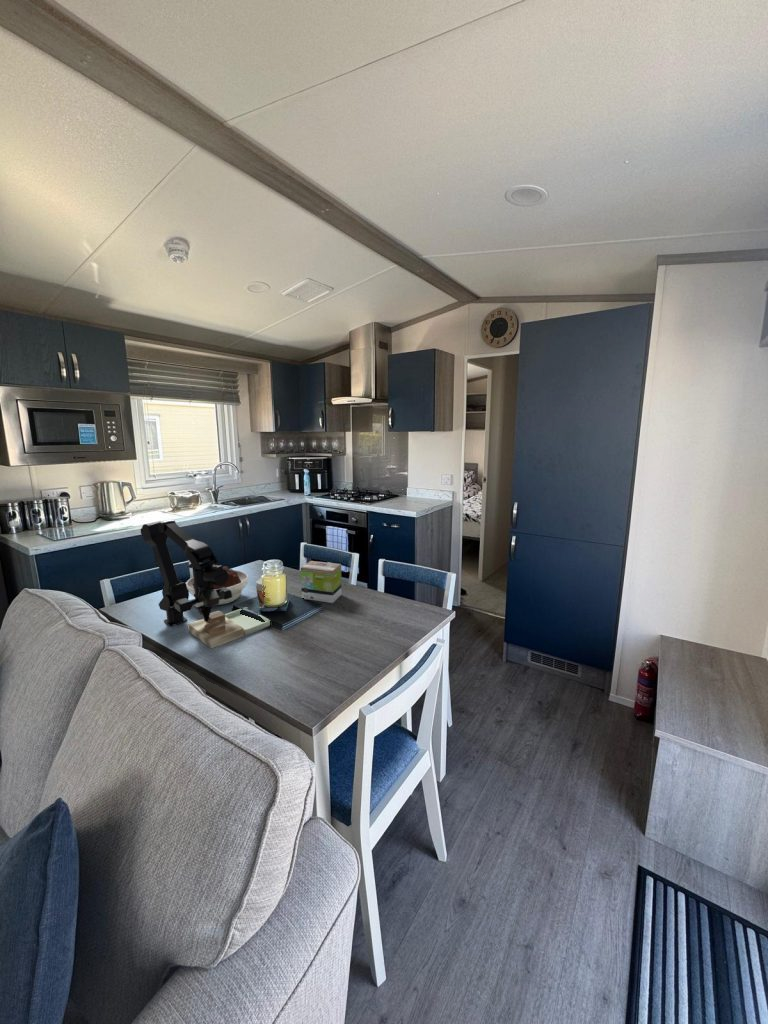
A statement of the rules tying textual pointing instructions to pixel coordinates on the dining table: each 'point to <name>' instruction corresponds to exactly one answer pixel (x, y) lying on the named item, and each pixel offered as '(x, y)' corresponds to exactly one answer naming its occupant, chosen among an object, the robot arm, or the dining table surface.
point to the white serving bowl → (227, 584)
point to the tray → (247, 621)
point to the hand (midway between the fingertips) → (206, 621)
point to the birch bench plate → (230, 634)
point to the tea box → (321, 581)
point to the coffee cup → (260, 592)
